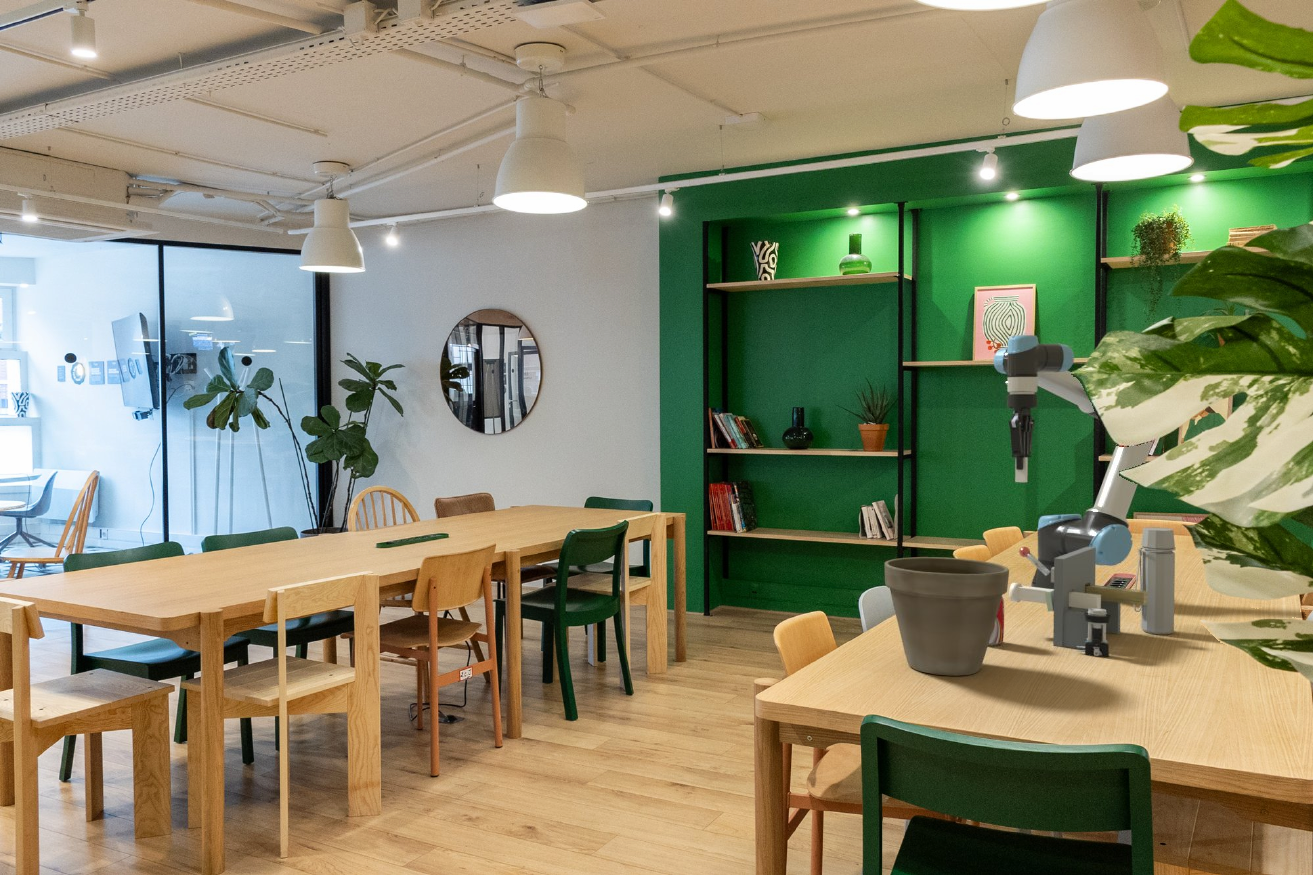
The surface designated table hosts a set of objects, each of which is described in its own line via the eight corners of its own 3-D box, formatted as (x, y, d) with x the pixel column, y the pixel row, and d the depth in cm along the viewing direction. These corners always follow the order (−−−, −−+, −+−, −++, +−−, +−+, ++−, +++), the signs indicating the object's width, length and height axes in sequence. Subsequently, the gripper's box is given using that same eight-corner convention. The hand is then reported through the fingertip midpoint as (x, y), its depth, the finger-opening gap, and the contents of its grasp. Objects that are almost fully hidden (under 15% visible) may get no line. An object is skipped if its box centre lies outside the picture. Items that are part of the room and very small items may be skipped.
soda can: (1005, 647, 221) (1006, 594, 221) (973, 645, 223) (973, 593, 222) (1001, 640, 228) (1002, 589, 228) (969, 638, 230) (970, 587, 229)
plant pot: (955, 648, 221) (956, 552, 220) (1034, 676, 198) (1035, 569, 197) (860, 658, 212) (861, 558, 211) (932, 689, 189) (932, 577, 188)
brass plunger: (1061, 595, 241) (1061, 578, 241) (1147, 606, 229) (1148, 587, 228) (1055, 598, 238) (1055, 580, 238) (1142, 609, 225) (1143, 590, 225)
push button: (1076, 655, 214) (1077, 610, 213) (1077, 650, 219) (1077, 605, 218) (1110, 659, 211) (1110, 612, 211) (1109, 653, 216) (1110, 608, 216)
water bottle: (1166, 628, 240) (1167, 527, 239) (1180, 636, 232) (1181, 531, 231) (1127, 627, 241) (1128, 526, 240) (1139, 635, 233) (1141, 530, 232)
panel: (1082, 626, 242) (1083, 546, 241) (1120, 632, 236) (1121, 549, 236) (1049, 644, 224) (1050, 557, 223) (1090, 651, 218) (1091, 561, 217)
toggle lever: (1021, 572, 231) (1021, 545, 230) (1051, 575, 226) (1052, 548, 226) (1017, 573, 229) (1017, 546, 229) (1048, 576, 224) (1048, 549, 224)
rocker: (1051, 609, 226) (1048, 590, 227) (1057, 609, 226) (1053, 590, 226) (1048, 611, 224) (1044, 592, 225) (1053, 611, 224) (1050, 591, 224)
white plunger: (1015, 599, 237) (1016, 581, 236) (1101, 610, 224) (1101, 591, 224) (1009, 602, 233) (1009, 584, 233) (1095, 613, 221) (1096, 594, 220)
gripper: (1017, 393, 268) (1016, 479, 268) (998, 393, 258) (998, 482, 258) (1044, 393, 263) (1044, 481, 263) (1027, 393, 253) (1026, 484, 254)
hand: (1021, 481), depth 261 cm, fingers closed
